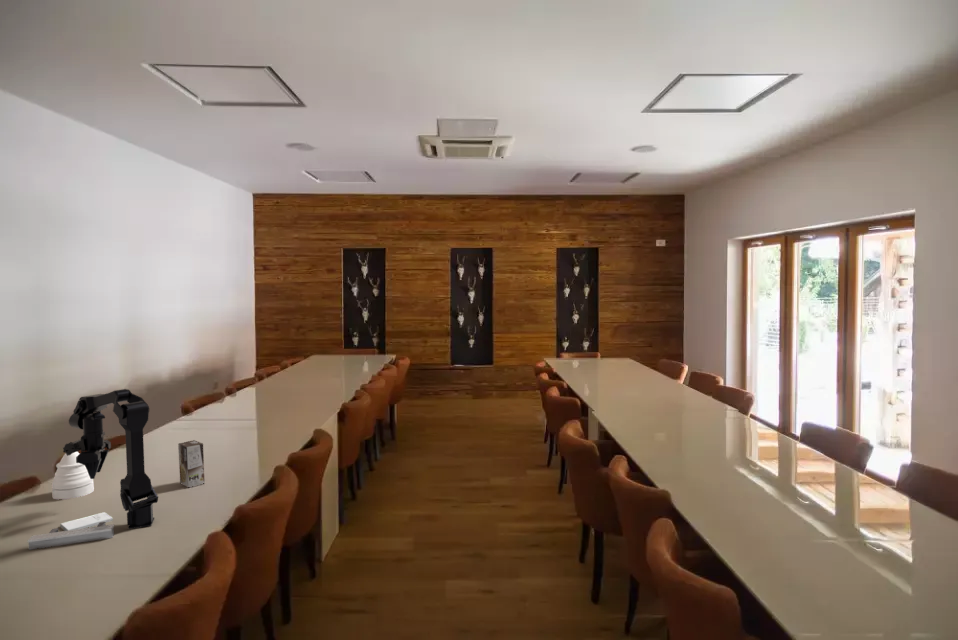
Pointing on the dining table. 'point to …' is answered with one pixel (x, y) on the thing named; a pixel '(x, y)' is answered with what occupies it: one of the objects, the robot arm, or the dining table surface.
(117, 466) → the dining table surface
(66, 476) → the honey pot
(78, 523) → the external hard drive
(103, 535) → the grey door handle
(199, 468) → the coffee box
